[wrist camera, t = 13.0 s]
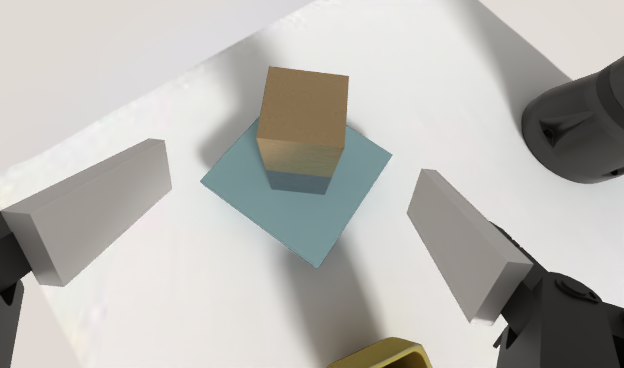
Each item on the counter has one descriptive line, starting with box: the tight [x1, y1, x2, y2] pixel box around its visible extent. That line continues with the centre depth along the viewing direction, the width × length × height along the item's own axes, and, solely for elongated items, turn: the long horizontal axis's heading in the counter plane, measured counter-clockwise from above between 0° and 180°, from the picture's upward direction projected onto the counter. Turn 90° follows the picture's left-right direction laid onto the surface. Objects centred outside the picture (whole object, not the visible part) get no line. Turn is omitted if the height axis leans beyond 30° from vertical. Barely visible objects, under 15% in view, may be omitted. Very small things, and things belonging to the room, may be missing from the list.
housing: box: [256, 66, 349, 195], centre depth 24 cm, size 6×6×12 cm
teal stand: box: [200, 117, 392, 269], centre depth 32 cm, size 16×16×4 cm
